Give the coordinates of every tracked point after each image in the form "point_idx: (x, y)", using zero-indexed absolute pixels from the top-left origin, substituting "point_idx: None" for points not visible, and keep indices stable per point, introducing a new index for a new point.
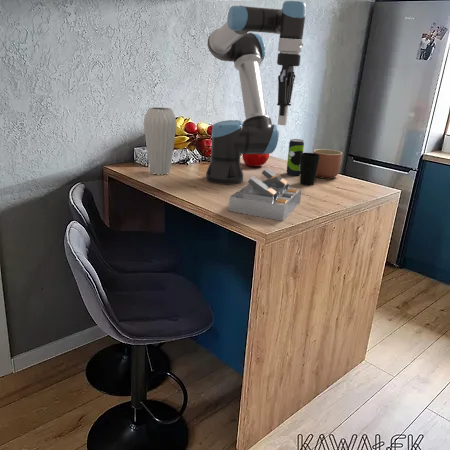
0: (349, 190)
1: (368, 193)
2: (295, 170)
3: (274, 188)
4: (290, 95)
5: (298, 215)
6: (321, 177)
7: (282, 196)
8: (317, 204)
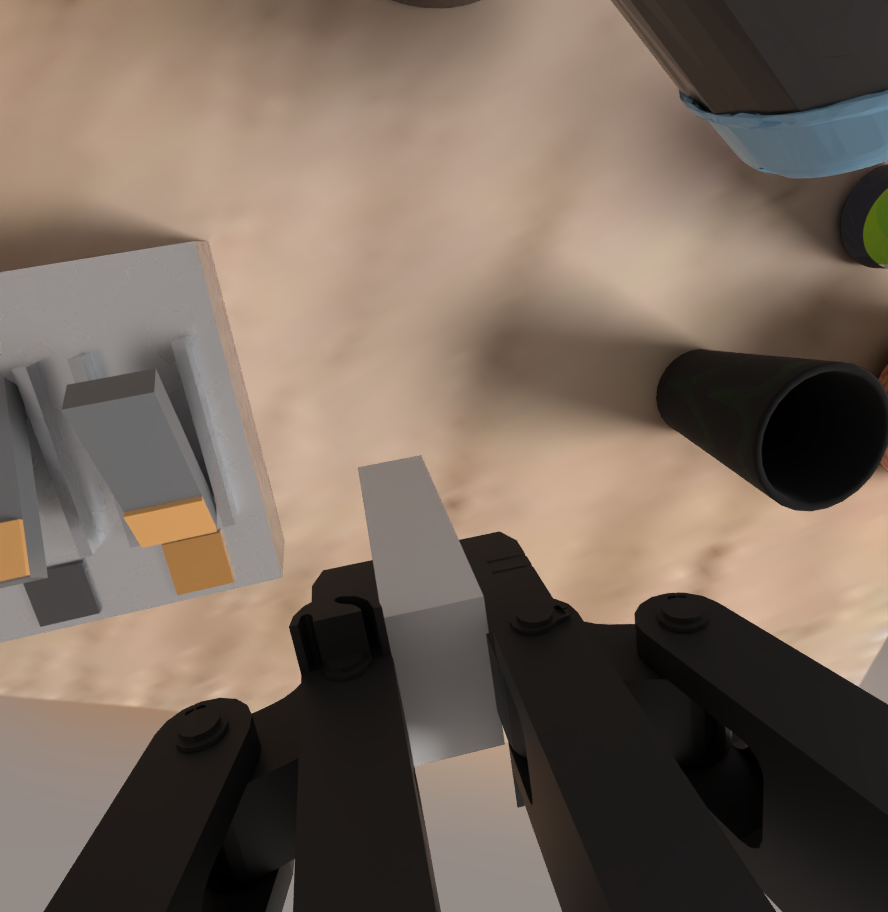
0: None
1: None
2: (865, 246)
3: (61, 501)
4: (765, 888)
5: (65, 635)
6: None
7: None
8: None
